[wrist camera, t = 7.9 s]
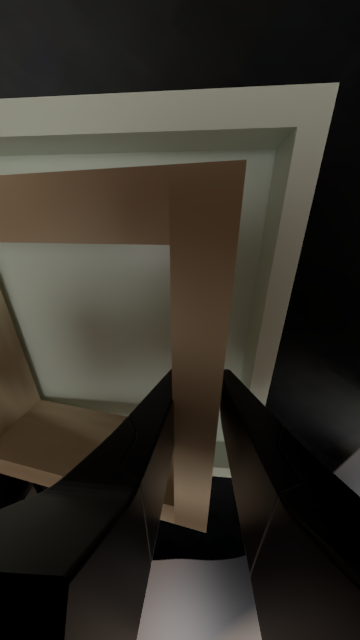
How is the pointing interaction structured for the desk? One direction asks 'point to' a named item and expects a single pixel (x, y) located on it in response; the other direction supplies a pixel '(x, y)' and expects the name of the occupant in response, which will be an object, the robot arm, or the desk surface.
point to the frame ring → (186, 311)
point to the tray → (154, 260)
